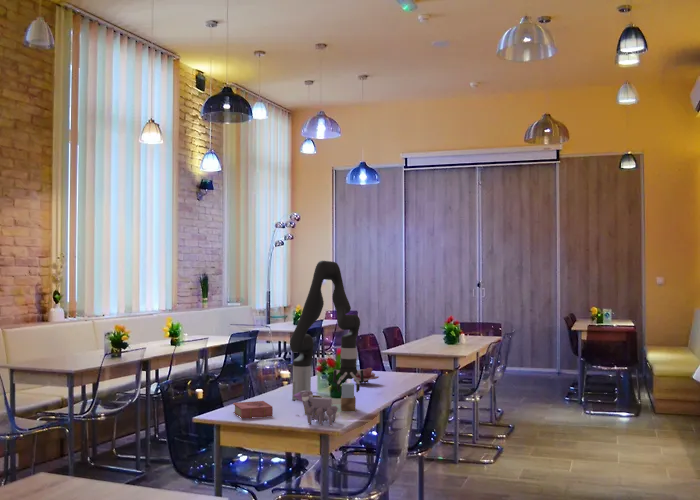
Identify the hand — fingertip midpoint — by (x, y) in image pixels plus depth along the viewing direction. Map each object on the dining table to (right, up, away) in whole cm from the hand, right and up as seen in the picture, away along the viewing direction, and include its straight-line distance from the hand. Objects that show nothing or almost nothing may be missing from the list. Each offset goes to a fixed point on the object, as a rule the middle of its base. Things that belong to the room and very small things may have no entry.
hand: (348, 391), depth 335 cm
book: (-44, -9, -9) cm, 45 cm away
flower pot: (-16, -9, -10) cm, 21 cm away
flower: (+10, -12, +79) cm, 81 cm away
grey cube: (0, -2, 0) cm, 2 cm away
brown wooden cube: (0, -8, 0) cm, 8 cm away
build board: (-3, -9, +4) cm, 11 cm away
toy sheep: (-15, -9, -23) cm, 29 cm away
